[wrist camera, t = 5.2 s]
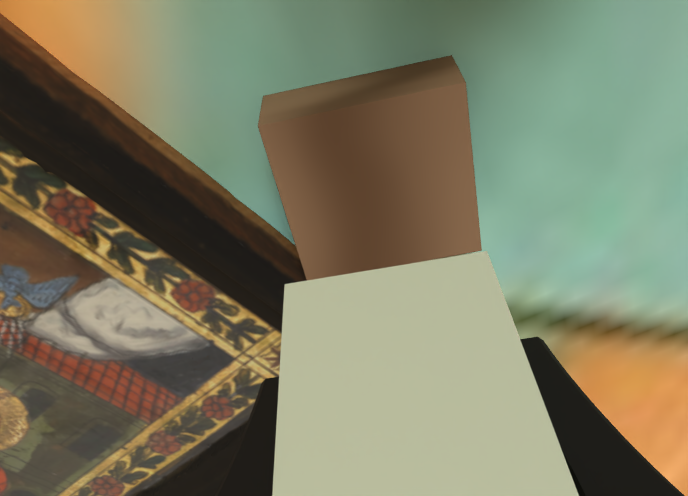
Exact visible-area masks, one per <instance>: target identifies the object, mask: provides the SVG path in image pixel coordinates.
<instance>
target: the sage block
mask: <svg viewBox="0 0 688 496" xmlns="http://www.w3.org/2000/svg"><path fill="white" fill-rule="evenodd" d="M272 496H579V495H578V492H577V489H576V487H575V484H574V482H573V479H572V476H571V474H570V471H569V468H568V466H567V463H566V460H565V458H564V455H563V452H562V450H561V447H560V444H559V442H558V439H557V436H556V434H555V431H554V428H553V426H552V423H551V420H550V418H549V415H548V412H547V410H546V407H545V404H544V402H543V399H542V396H541V394H540V391H539V388H538V386H537V383H536V380H535V378H534V375H533V372H532V370H531V367H530V364H529V362H528V359H527V356H526V354H525V351H524V348H523V346H522V343H521V340H520V338H519V335H518V332H517V330H516V327H515V324H514V322H513V319H512V316H511V314H510V311H509V308H508V306H507V303H506V300H505V298H504V295H503V292H502V290H501V287H500V284H499V282H498V279H497V276H496V274H495V271H494V269H493V266H492V263H491V261H490V258H489V255H488V253H487V251H484V252H478V253H472V254H465V255H459V256H453V257H447V258H441V259H435V260H429V261H423V262H417V263H411V264H405V265H399V266H393V267H386V268H380V269H374V270H368V271H362V272H356V273H350V274H344V275H338V276H332V277H326V278H320V279H314V280H307V281H301V282H295V283H289V284H285V286H284V304H283V321H282V338H281V355H280V372H279V389H278V407H277V424H276V441H275V458H274V475H273V492H272Z"/></svg>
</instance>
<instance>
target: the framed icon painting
mask: <svg viewBox="0 0 688 496" xmlns="http://www.w3.org/2000/svg"><path fill="white" fill-rule="evenodd" d="M301 281H307V279H306V276H305V273H304V270H303V267H302V264H301V260H300V257H299V254H298V251H297V248H296V246H295V245H294V244H292V243H291V242H290V241H289V240H288V239H287V238H286V237H284V236H283V235H282V234H281V233H280V232H278V231H277V230H276V229H275V228H274V227H272V226H271V225H270V224H269V223H267V222H266V221H265V220H264V219H262V218H261V217H260V216H259V215H257V214H256V213H255V212H253V211H252V210H251V209H249V208H248V207H247V206H245V205H244V204H243V203H241V202H240V201H239V200H237V199H236V198H235V197H234V196H233V195H232V194H231V193H230V192H229V191H227V190H226V189H225V188H224V187H222V186H221V185H220V184H219V183H217V182H216V181H215V180H214V179H213V178H211V177H210V176H209V175H208V174H206V173H205V172H204V171H203V170H201V169H200V168H199V167H197V166H196V165H195V164H194V163H192V162H191V161H190V160H188V159H187V158H186V157H184V156H183V155H182V154H181V153H179V152H178V151H177V150H175V149H174V148H173V147H171V146H170V145H169V144H168V143H166V142H165V141H164V140H162V139H161V138H160V137H158V136H157V135H156V134H155V133H153V132H152V131H151V130H149V129H148V128H147V127H145V126H144V125H143V124H141V123H140V122H139V121H138V120H136V119H135V118H134V117H132V116H131V115H130V114H128V113H127V112H126V111H125V110H123V109H122V108H121V107H119V106H118V105H117V104H115V103H114V102H113V101H111V100H110V99H109V98H107V97H106V96H105V95H103V94H102V93H101V92H99V91H98V90H97V89H95V88H94V87H92V86H91V85H90V84H88V83H87V82H85V81H84V80H83V79H81V78H80V77H78V76H77V75H76V74H74V73H73V72H72V71H71V70H69V69H68V68H67V67H66V66H64V65H63V64H62V63H61V62H60V61H58V60H57V59H56V58H55V57H54V56H53V55H51V54H50V53H49V52H48V51H47V50H45V49H44V48H43V47H42V46H40V45H39V44H38V43H37V42H36V41H34V40H33V39H32V38H31V37H29V36H28V35H27V34H25V33H24V32H23V31H22V30H20V29H19V28H18V27H17V26H15V25H14V24H13V23H12V22H11V21H9V20H8V19H7V18H6V17H4V16H3V15H2V14H1V13H0V496H215V495H216V493H217V491H218V489H219V487H220V485H221V482H222V480H223V478H224V476H225V474H226V471H227V469H228V467H229V465H230V462H231V460H232V458H233V456H234V453H235V451H236V449H237V447H238V444H239V442H240V440H241V437H242V435H243V432H244V430H245V427H246V425H247V422H248V420H249V417H250V414H251V412H252V409H253V406H254V404H255V401H256V398H257V395H258V392H259V389H260V386H261V383H262V382H263V381H264V380H265V379H266V378H273V377H279V372H280V355H281V338H282V321H283V304H284V286H285V284H289V283H295V282H301Z"/></svg>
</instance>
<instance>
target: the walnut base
mask: <svg viewBox="0 0 688 496" xmlns="http://www.w3.org/2000/svg"><path fill="white" fill-rule="evenodd" d="M258 128H259V131H260V134H261V137H262V140H263V144H264V147H265V150H266V153H267V156H268V159H269V162H270V166H271V169H272V172H273V175H274V178H275V181H276V185H277V188H278V191H279V194H280V197H281V200H282V204H283V207H284V210H285V213H286V216H287V219H288V222H289V226H290V229H291V232H292V235H293V238H294V241H295V245H296V248H297V251H298V254H299V257H300V260H301V264H302V267H303V270H304V273H305V276H306V279H307V280H314V279H320V278H326V277H332V276H338V275H344V274H350V273H356V272H362V271H368V270H374V269H380V268H386V267H393V266H399V265H405V264H411V263H417V262H422V261H427V260H433V259H438V258H444V257H449V256H454V255H460V254H465V253H471V252H476V251H481V250H482V249H481V239H480V228H479V218H478V207H477V197H476V186H475V176H474V165H473V155H472V144H471V133H470V123H469V112H468V102H467V91H466V82H465V80H464V78H463V76H462V74H461V72H460V70H459V68H458V66H457V64H456V63H455V61H454V59H453V57H452V55H451V56H446V57H441V58H437V59H432V60H427V61H423V62H418V63H414V64H409V65H404V66H400V67H395V68H390V69H386V70H381V71H376V72H372V73H367V74H363V75H358V76H353V77H349V78H344V79H339V80H335V81H330V82H326V83H321V84H316V85H312V86H307V87H302V88H298V89H293V90H289V91H284V92H279V93H275V94H270V95H265V96H263V100H262V105H261V111H260V117H259V123H258Z"/></svg>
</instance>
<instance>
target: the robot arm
mask: <svg viewBox="0 0 688 496" xmlns="http://www.w3.org/2000/svg"><path fill="white" fill-rule="evenodd" d="M520 340H521V343H522V346H523V348H524V351H525V354H526V356H527V359H528V362H529V364H530V367H531V370H532V372H533V375H534V378H535V380H536V383H537V386H538V388H539V391H540V394H541V396H542V399H543V402H544V404H545V407H546V410H547V412H548V415H549V418H550V420H551V423H552V426H553V428H554V431H555V434H556V436H557V439H558V442H559V444H560V447H561V450H562V452H563V455H564V458H565V460H566V463H567V466H568V468H569V471H570V474H571V476H572V479H573V482H574V484H575V487H576V489H577V492H578V495H579V496H684V495H683V494H682V493H681V492H680V491H679V490H678V489H677V488H675V487H674V486H673V485H672V484H671V483H670V482H669V481H668V480H667V479H666V478H665V477H664V476H663V475H662V474H660V473H659V472H658V471H657V470H656V469H655V468H654V467H653V466H652V465H651V464H650V463H649V462H648V461H647V460H646V459H645V458H644V457H643V456H642V455H641V454H640V453H639V452H638V451H637V450H636V449H635V448H634V447H633V446H632V445H631V444H630V443H629V442H628V441H627V440H626V439H625V438H624V437H623V436H622V435H621V433H620V432H619V431H618V430H617V429H616V428H615V427H614V426H613V425H612V424H611V423H610V421H609V420H608V419H607V418H606V417H605V416H604V415H603V414H602V413H601V412H600V411H599V409H598V408H597V407H596V406H595V405H594V404H593V403H592V402H591V400H590V399H589V398H588V397H587V396H586V395H585V393H584V392H583V391H582V390H581V389H580V387H579V386H578V385H577V384H576V383H575V381H574V380H573V379H572V378H571V377H570V375H569V374H568V373H567V372H566V370H565V369H564V368H563V367H562V365H561V364H560V363H559V361H558V360H557V359H556V357H555V356H554V355H553V353H552V352H551V351H550V349H549V348H548V346H547V345H546V344H545V342H544V341H543V340H542V339H540V338H539V337H533V338H527V339H520ZM278 389H279V377H273V378H266V379H265V380H264V381H263V382H262V383H261V386H260V389H259V392H258V395H257V398H256V401H255V404H254V406H253V409H252V412H251V414H250V417H249V420H248V422H247V425H246V427H245V430H244V432H243V435H242V437H241V440H240V442H239V444H238V447H237V449H236V451H235V453H234V456H233V458H232V460H231V462H230V465H229V467H228V469H227V471H226V474H225V476H224V478H223V480H222V482H221V485H220V487H219V489H218V491H217V493H216V495H215V496H272V492H273V475H274V458H275V441H276V424H277V407H278Z"/></svg>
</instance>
